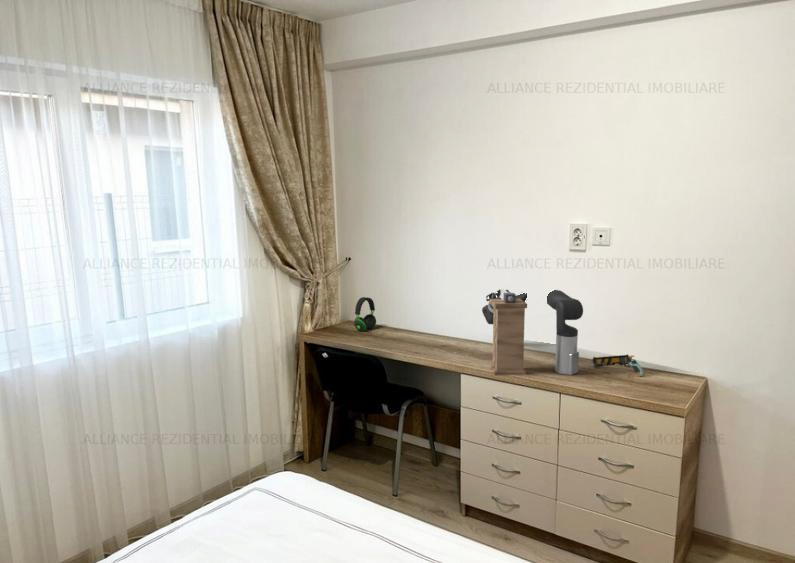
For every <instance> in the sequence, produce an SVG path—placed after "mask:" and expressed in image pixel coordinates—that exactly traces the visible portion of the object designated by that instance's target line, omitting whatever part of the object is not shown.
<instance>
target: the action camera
mask: <svg viewBox="0 0 795 563" xmlns="http://www.w3.org/2000/svg"><path fill="white" fill-rule="evenodd" d="M496 290H497V291H498V290H501V294H500V296H499V297H500V298H501V299H502V300H503V302H504V303H515V302H516V296H517V295H516V293H515V292H511V293H508V292H507V291H506V290H507V289H505V288H497V289H496ZM497 291H496V292H497Z"/></svg>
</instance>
